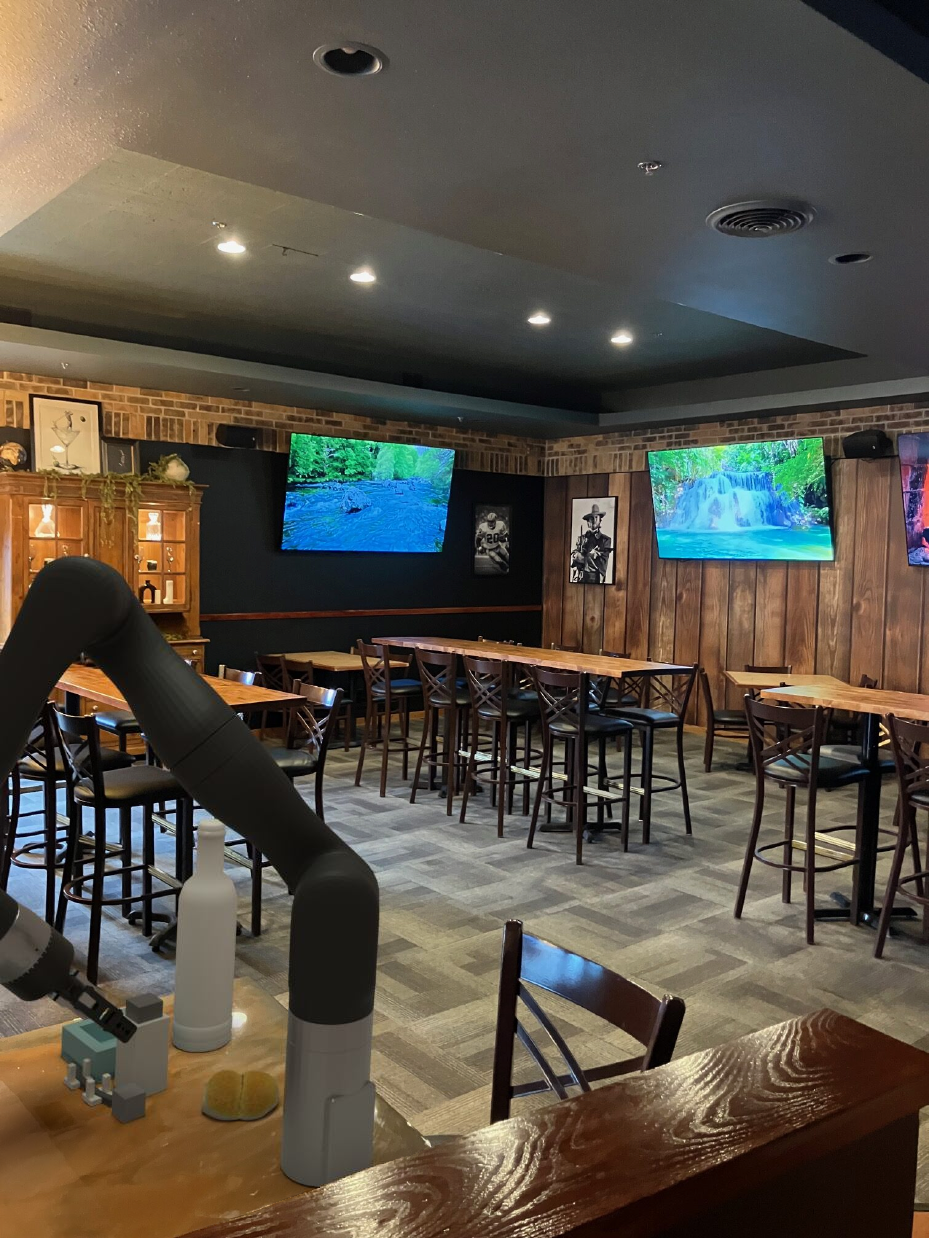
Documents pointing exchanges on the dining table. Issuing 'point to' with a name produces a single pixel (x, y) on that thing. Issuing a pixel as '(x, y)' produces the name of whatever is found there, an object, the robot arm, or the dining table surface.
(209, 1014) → the bottle
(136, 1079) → the block
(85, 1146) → the dining table surface
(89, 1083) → the cable run
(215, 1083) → the bread roll
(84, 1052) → the end socket
